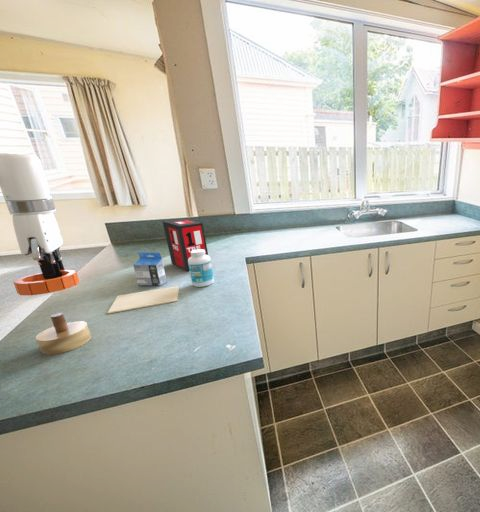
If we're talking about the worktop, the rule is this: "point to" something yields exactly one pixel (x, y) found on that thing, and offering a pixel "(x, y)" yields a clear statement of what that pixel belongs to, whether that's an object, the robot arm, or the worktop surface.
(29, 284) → the ring
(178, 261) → the cleaning product box
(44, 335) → the stake stand
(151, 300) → the mat
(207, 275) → the pill bottle
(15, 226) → the robot arm
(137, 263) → the label tape box
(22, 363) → the worktop surface
